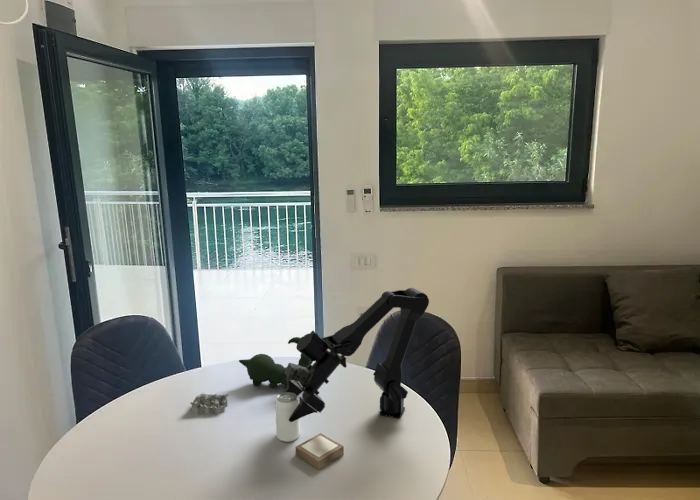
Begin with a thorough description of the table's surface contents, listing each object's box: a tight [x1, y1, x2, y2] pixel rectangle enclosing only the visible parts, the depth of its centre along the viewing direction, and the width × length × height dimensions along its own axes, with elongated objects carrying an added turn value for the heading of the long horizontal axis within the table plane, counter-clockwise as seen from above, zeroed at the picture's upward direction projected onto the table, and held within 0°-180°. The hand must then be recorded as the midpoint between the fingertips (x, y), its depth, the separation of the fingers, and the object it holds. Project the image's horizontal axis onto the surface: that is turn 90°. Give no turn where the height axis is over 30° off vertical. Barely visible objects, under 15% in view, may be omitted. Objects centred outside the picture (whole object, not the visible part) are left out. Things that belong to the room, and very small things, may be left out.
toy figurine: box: [238, 336, 314, 390], centre depth 172 cm, size 9×19×25 cm
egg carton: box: [189, 393, 229, 415], centre depth 158 cm, size 11×8×4 cm
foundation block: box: [294, 432, 345, 471], centre depth 134 cm, size 9×9×3 cm
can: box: [275, 392, 300, 443], centre depth 142 cm, size 6×6×12 cm
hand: (284, 413), depth 142 cm, fingers open, 9 cm apart
